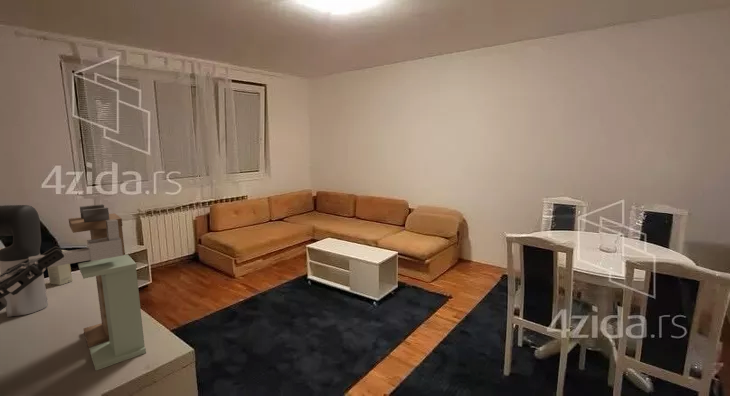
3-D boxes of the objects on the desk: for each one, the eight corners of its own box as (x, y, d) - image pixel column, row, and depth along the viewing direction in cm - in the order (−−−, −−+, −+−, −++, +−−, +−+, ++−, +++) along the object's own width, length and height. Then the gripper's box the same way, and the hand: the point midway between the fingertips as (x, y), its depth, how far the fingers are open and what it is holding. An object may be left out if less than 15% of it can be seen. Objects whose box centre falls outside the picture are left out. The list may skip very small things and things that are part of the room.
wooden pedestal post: (88, 347, 89) (70, 212, 84) (83, 332, 96) (66, 207, 91) (134, 332, 96) (120, 207, 90) (127, 319, 103) (113, 202, 98)
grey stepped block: (30, 271, 72) (24, 232, 71) (30, 266, 75) (25, 228, 74) (122, 255, 83) (119, 221, 82) (119, 251, 86) (115, 218, 85)
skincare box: (73, 281, 133) (69, 250, 131) (60, 285, 129) (55, 253, 127) (62, 279, 135) (57, 248, 133) (48, 283, 131) (44, 252, 129)
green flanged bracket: (95, 370, 80) (82, 274, 76) (90, 352, 87) (78, 263, 83) (146, 352, 86) (136, 263, 83) (137, 337, 94) (127, 254, 90)
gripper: (-60, 308, 61) (48, 244, 70) (-48, 286, 71) (46, 232, 80) (-22, 335, 65) (76, 270, 74) (-16, 310, 75) (70, 256, 84)
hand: (60, 251), depth 77 cm, fingers closed on grey stepped block, 2 cm apart
